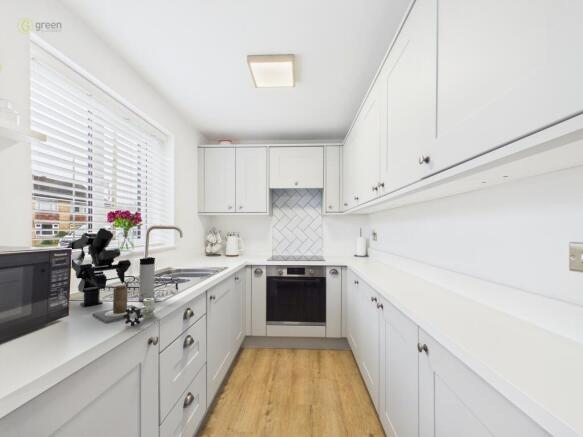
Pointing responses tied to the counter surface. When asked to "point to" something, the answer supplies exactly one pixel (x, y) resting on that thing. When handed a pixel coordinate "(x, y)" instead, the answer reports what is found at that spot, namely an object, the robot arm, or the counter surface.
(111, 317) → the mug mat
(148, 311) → the valve
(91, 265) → the robot arm
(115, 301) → the pepper mill
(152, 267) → the travel mug
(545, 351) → the counter surface
